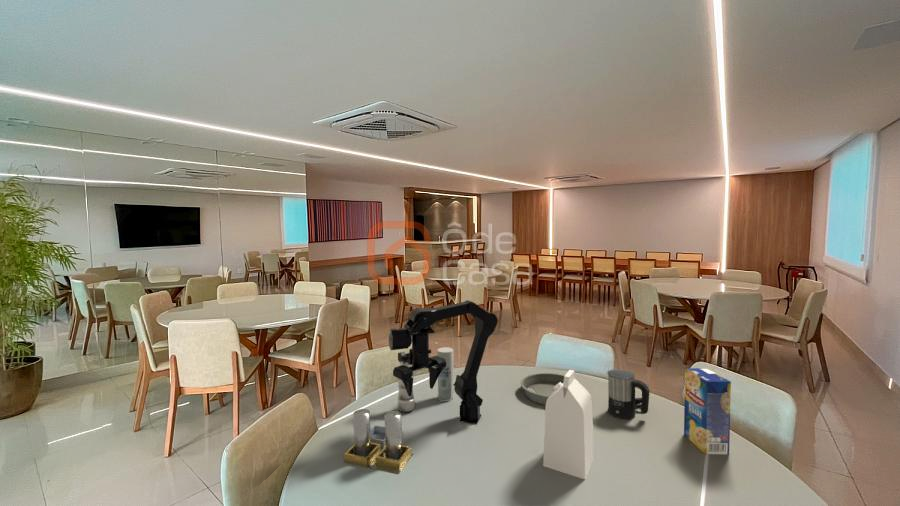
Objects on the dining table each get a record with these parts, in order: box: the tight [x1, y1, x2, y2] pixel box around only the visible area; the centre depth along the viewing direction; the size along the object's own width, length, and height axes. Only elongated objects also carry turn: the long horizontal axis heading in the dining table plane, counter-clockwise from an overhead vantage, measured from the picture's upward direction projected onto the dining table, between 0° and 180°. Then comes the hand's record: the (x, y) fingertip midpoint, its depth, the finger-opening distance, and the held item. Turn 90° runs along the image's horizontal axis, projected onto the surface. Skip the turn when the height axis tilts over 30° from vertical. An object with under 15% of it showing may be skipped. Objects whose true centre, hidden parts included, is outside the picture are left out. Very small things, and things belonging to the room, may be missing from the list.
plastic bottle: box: [396, 362, 416, 413], centre depth 139 cm, size 6×7×20 cm
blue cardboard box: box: [683, 367, 732, 455], centre depth 114 cm, size 7×11×22 cm, turn 177°
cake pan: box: [520, 372, 565, 406], centre depth 152 cm, size 25×25×4 cm
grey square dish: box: [370, 424, 385, 448], centre depth 118 cm, size 8×8×3 cm
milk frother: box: [607, 369, 650, 420], centre depth 136 cm, size 14×16×15 cm
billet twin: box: [352, 408, 372, 457], centre depth 109 cm, size 5×5×13 cm
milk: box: [542, 369, 595, 480], centre depth 106 cm, size 12×12×26 cm
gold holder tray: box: [342, 443, 414, 475], centre depth 108 cm, size 18×10×3 cm, turn 71°
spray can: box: [436, 346, 455, 402], centre depth 148 cm, size 6×6×20 cm
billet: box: [384, 410, 403, 460], centre depth 107 cm, size 5×5×13 cm
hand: (420, 392), depth 124 cm, fingers open, 9 cm apart
